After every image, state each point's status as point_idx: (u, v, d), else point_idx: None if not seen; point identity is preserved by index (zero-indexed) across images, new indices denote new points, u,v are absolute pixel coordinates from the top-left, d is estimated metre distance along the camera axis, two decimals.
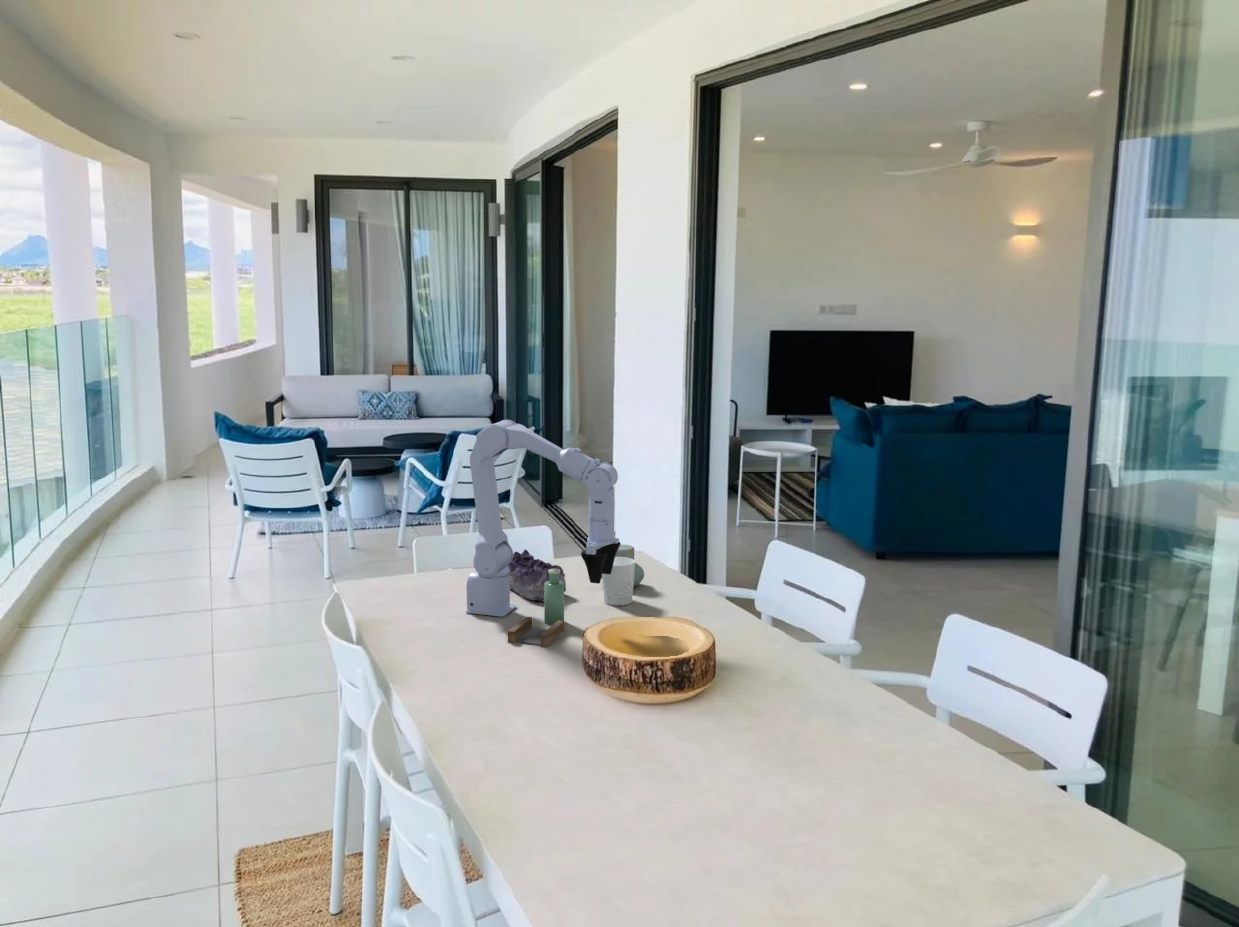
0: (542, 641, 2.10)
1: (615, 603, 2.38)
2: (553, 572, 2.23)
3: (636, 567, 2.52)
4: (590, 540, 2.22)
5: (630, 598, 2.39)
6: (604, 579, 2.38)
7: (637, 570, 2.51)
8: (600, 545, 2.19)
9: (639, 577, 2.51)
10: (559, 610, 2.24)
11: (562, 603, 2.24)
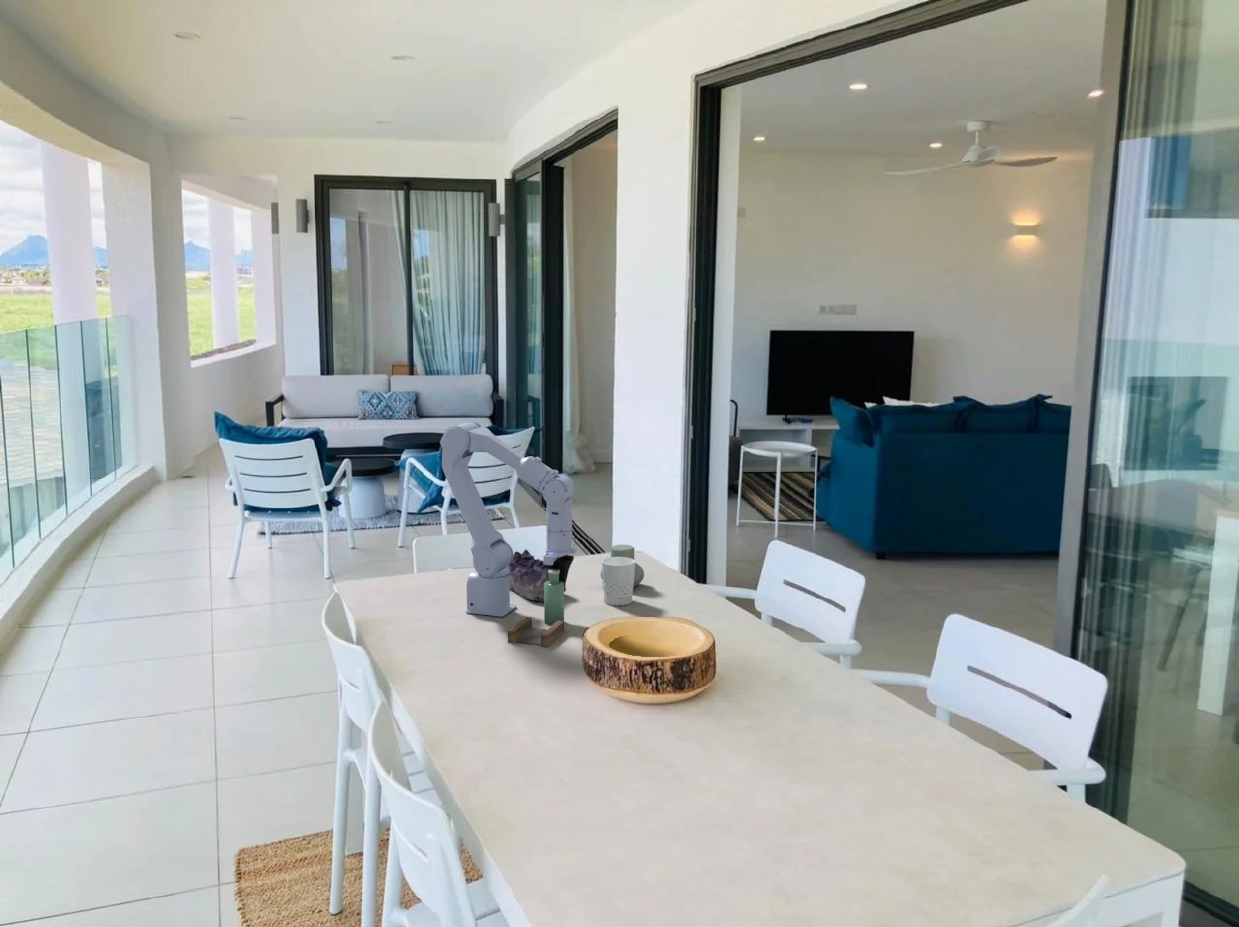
0: (542, 641, 2.10)
1: (615, 603, 2.38)
2: (553, 572, 2.23)
3: (636, 567, 2.52)
4: (548, 551, 2.24)
5: (630, 598, 2.39)
6: (604, 579, 2.38)
7: (637, 570, 2.51)
8: (557, 556, 2.21)
9: (639, 577, 2.51)
10: (559, 610, 2.24)
11: (562, 603, 2.24)
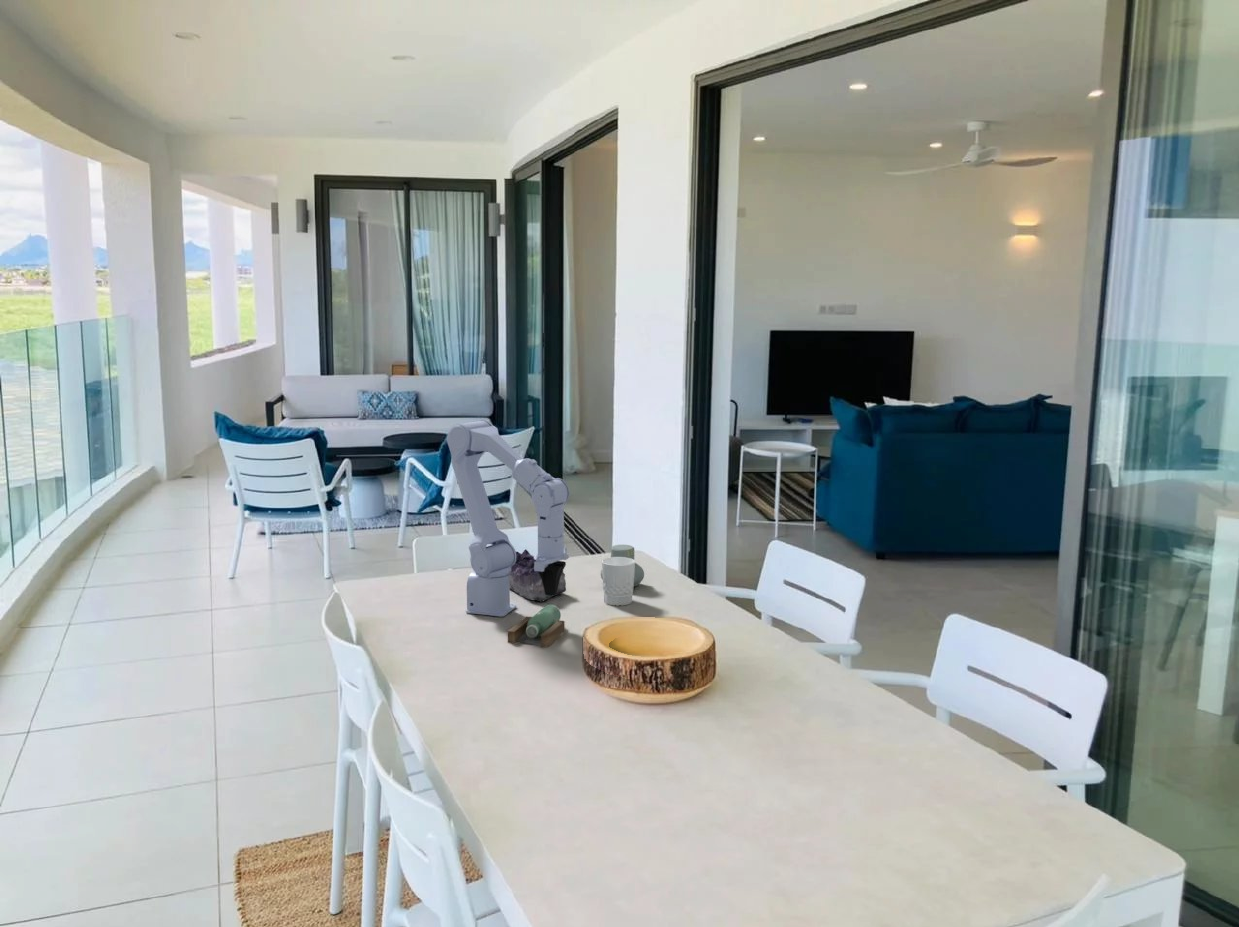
0: (542, 641, 2.10)
1: (615, 603, 2.38)
2: (533, 636, 2.13)
3: (636, 567, 2.52)
4: (539, 557, 2.20)
5: (630, 598, 2.39)
6: (604, 579, 2.38)
7: (637, 571, 2.51)
8: (549, 562, 2.17)
9: (639, 577, 2.51)
10: None
11: None
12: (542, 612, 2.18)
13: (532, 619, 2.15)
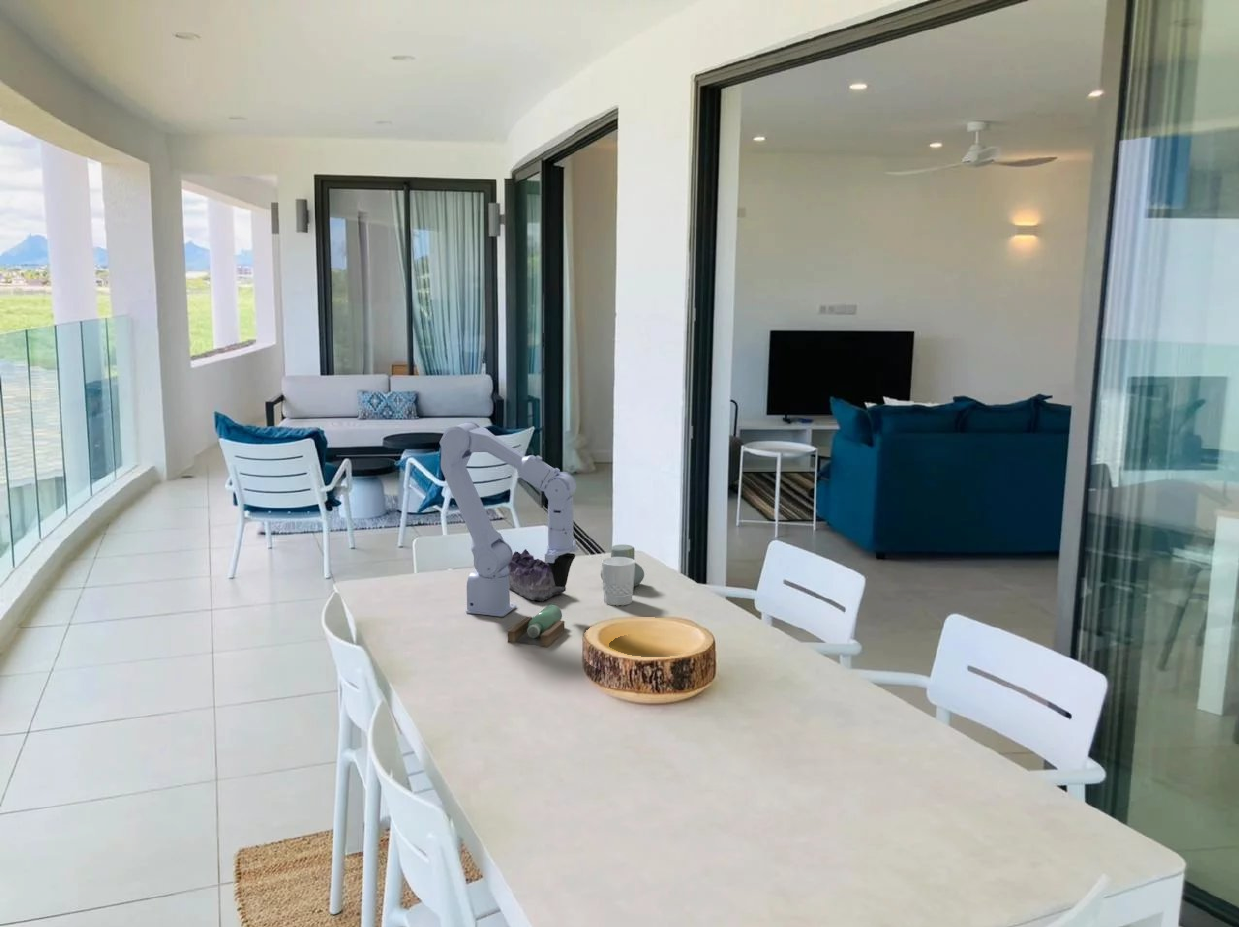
0: (542, 641, 2.10)
1: (615, 603, 2.38)
2: None
3: (636, 567, 2.52)
4: (549, 549, 2.25)
5: (630, 598, 2.39)
6: (604, 579, 2.38)
7: (637, 570, 2.51)
8: (559, 554, 2.22)
9: (639, 577, 2.51)
10: None
11: None
12: (545, 612, 2.18)
13: (534, 619, 2.15)
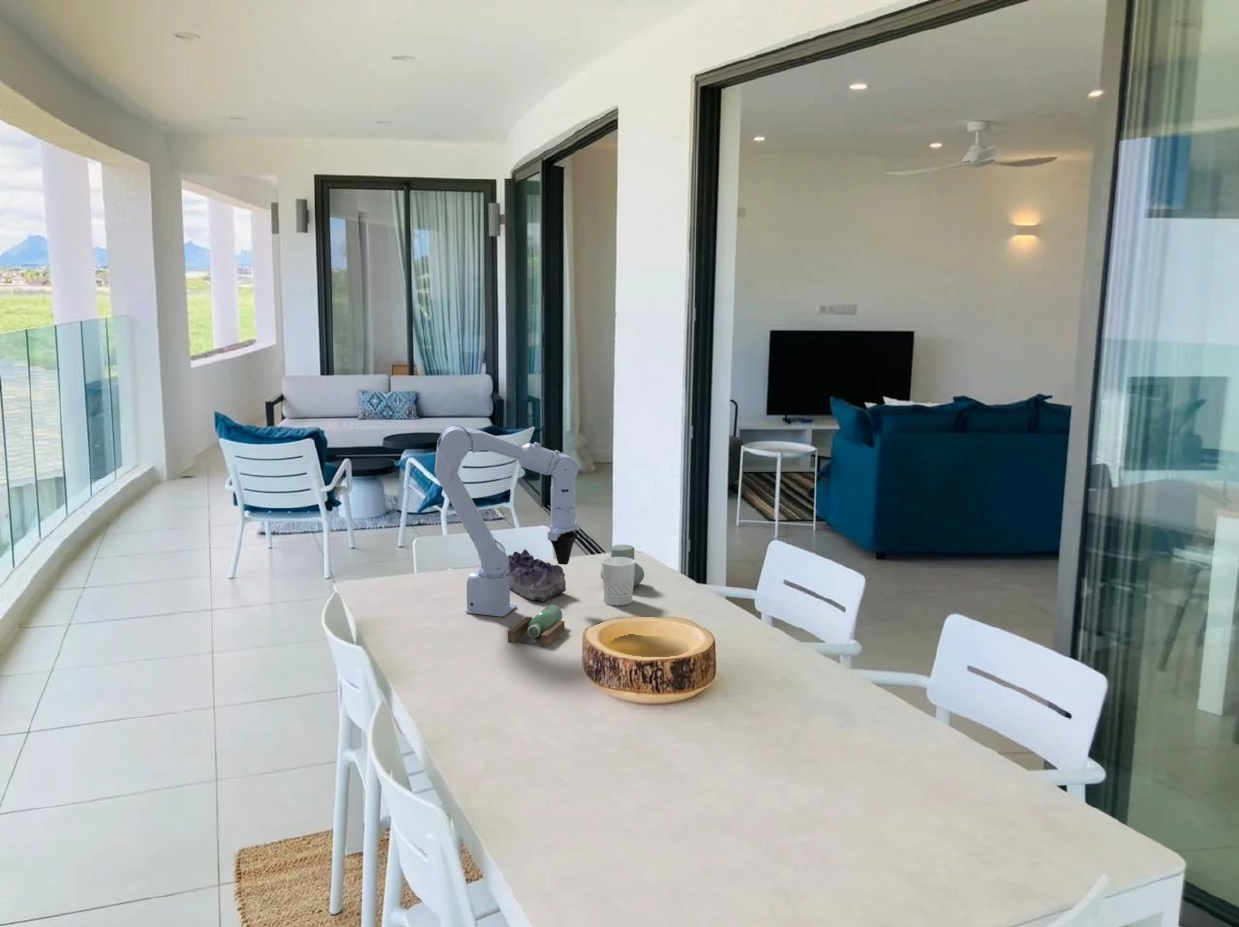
0: (542, 641, 2.10)
1: (615, 603, 2.38)
2: None
3: (636, 567, 2.52)
4: (552, 527, 2.32)
5: (630, 598, 2.39)
6: (604, 579, 2.38)
7: (637, 570, 2.51)
8: (561, 532, 2.29)
9: (639, 577, 2.51)
10: None
11: None
12: (545, 612, 2.18)
13: (535, 619, 2.15)
